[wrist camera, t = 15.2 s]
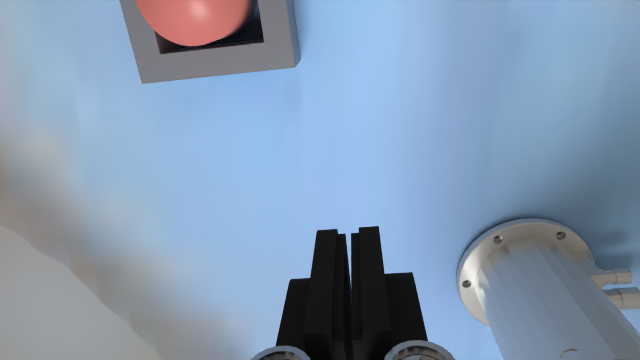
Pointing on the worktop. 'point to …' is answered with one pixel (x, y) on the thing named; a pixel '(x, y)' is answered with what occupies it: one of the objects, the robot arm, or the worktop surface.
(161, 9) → the dome button
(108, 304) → the worktop surface
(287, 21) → the dome housing
